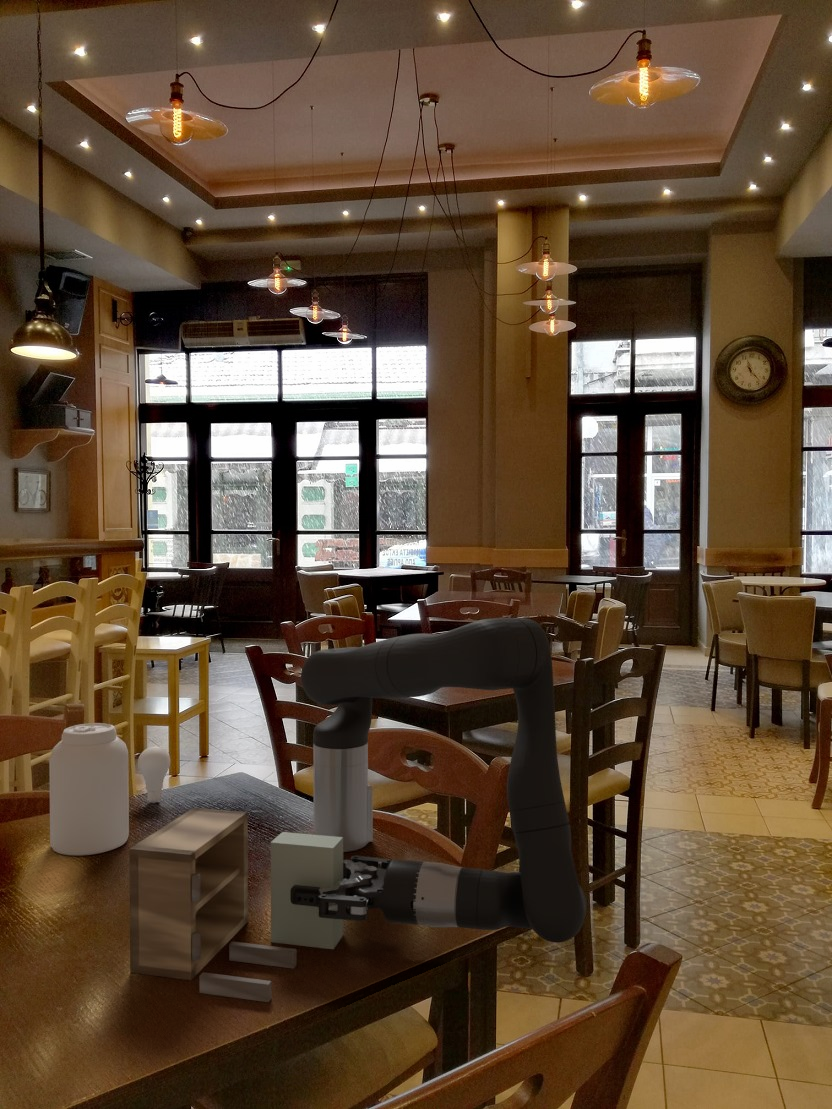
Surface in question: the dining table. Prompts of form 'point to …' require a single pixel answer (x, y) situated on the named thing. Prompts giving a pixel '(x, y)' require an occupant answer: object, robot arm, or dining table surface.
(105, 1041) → the dining table surface
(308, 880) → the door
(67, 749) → the can
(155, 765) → the lightbulb
